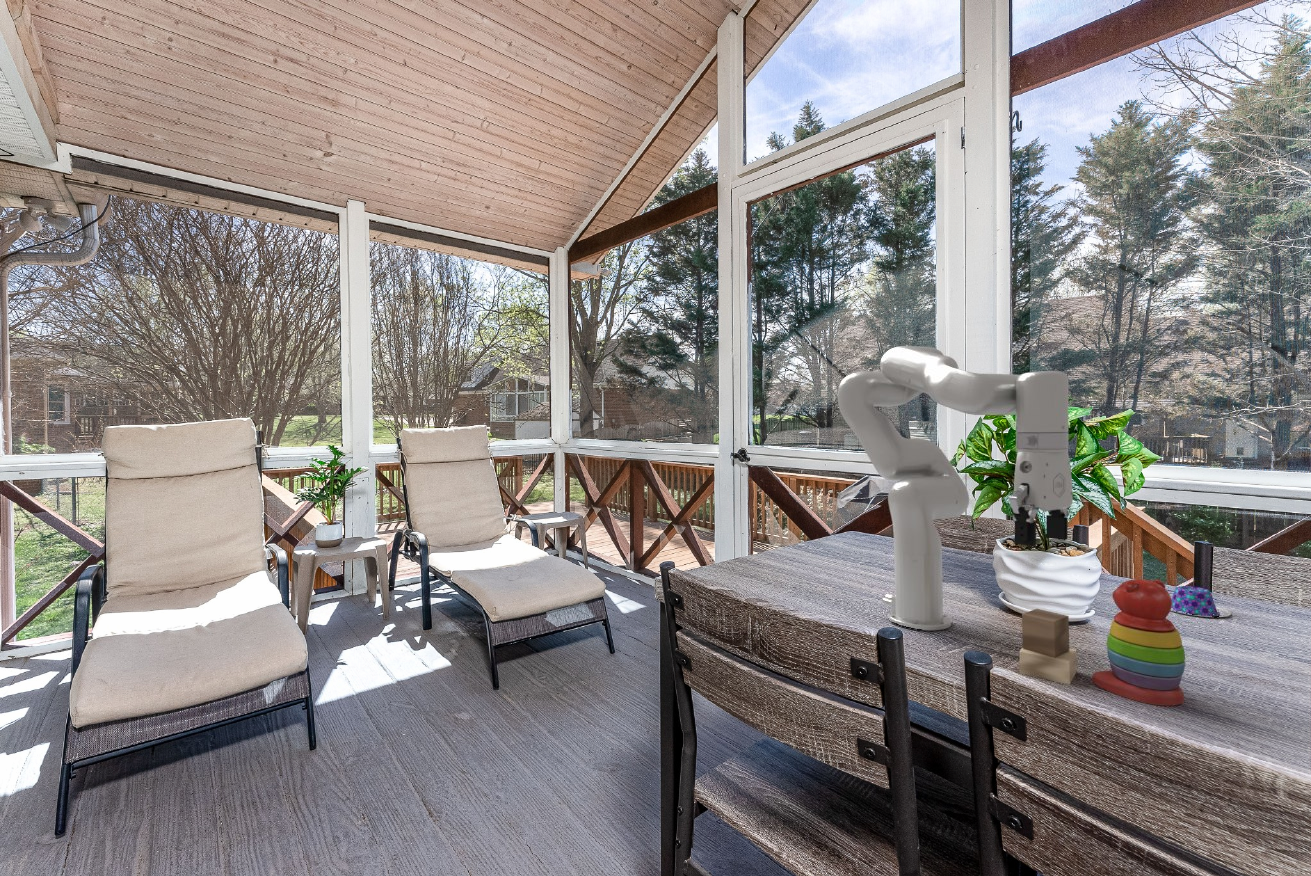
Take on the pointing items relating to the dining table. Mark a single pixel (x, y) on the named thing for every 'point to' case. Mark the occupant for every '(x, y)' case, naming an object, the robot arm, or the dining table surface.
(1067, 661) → the oak block
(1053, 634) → the walnut block
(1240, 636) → the dining table surface
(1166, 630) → the stacking bear
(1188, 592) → the blue patterned hat
